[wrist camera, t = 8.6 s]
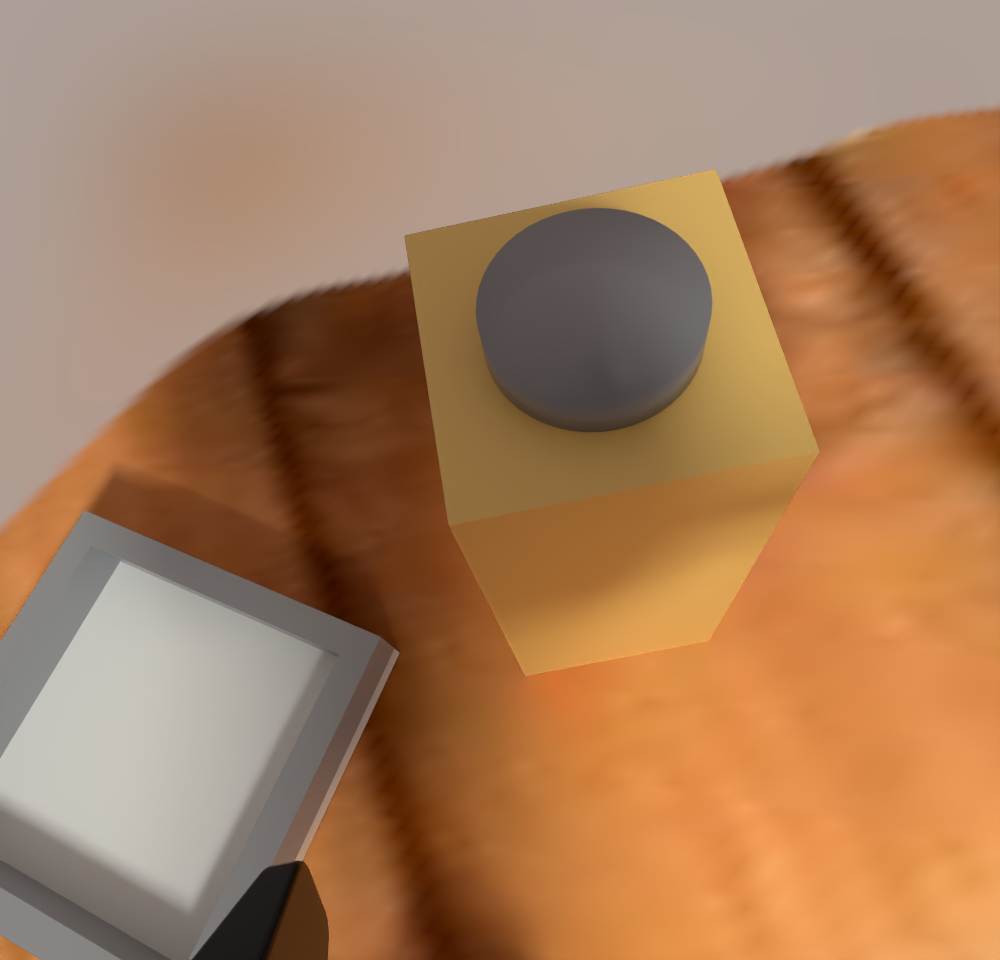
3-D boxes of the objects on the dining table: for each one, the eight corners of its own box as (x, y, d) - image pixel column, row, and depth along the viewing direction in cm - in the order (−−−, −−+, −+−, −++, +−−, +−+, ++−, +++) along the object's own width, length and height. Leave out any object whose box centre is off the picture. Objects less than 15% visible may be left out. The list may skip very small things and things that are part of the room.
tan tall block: (708, 641, 22) (835, 423, 10) (525, 676, 22) (436, 504, 10) (662, 473, 24) (722, 128, 12) (494, 507, 24) (392, 200, 12)
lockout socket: (225, 1026, 19) (183, 1047, 17) (-70, 849, 22) (-134, 851, 20) (399, 652, 22) (380, 636, 21) (124, 534, 25) (84, 510, 23)
